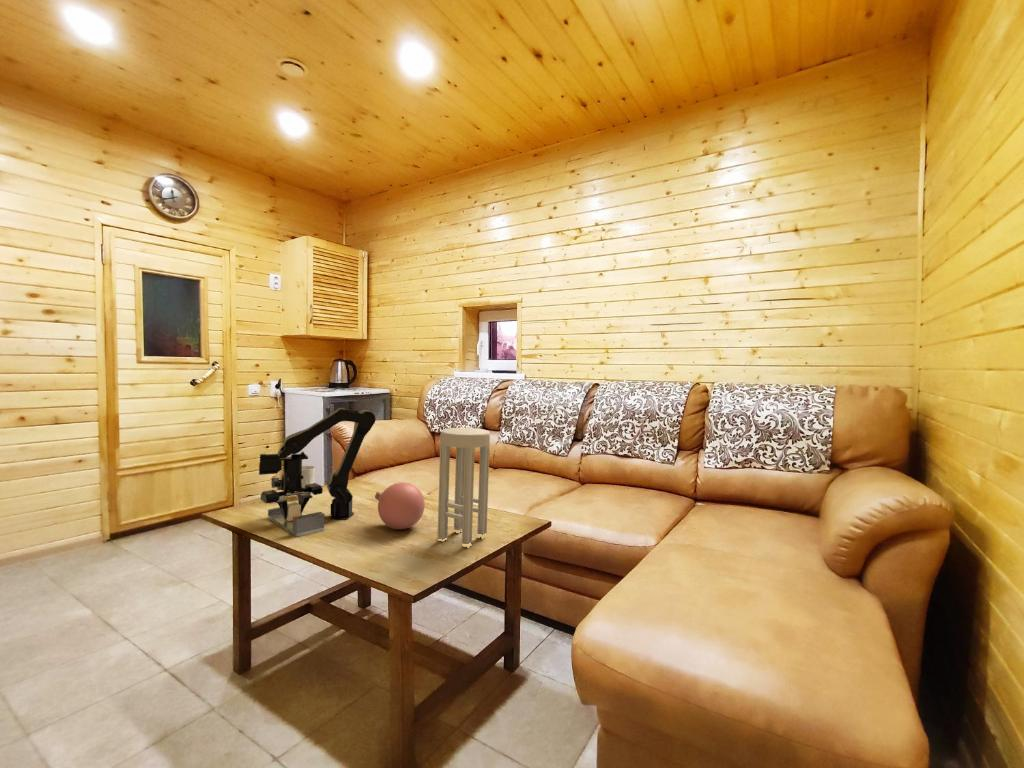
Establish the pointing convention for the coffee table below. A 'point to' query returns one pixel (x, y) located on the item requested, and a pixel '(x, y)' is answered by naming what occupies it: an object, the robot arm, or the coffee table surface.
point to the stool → (463, 481)
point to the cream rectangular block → (293, 510)
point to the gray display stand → (298, 522)
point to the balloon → (400, 505)
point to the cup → (307, 476)
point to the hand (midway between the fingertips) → (292, 517)
